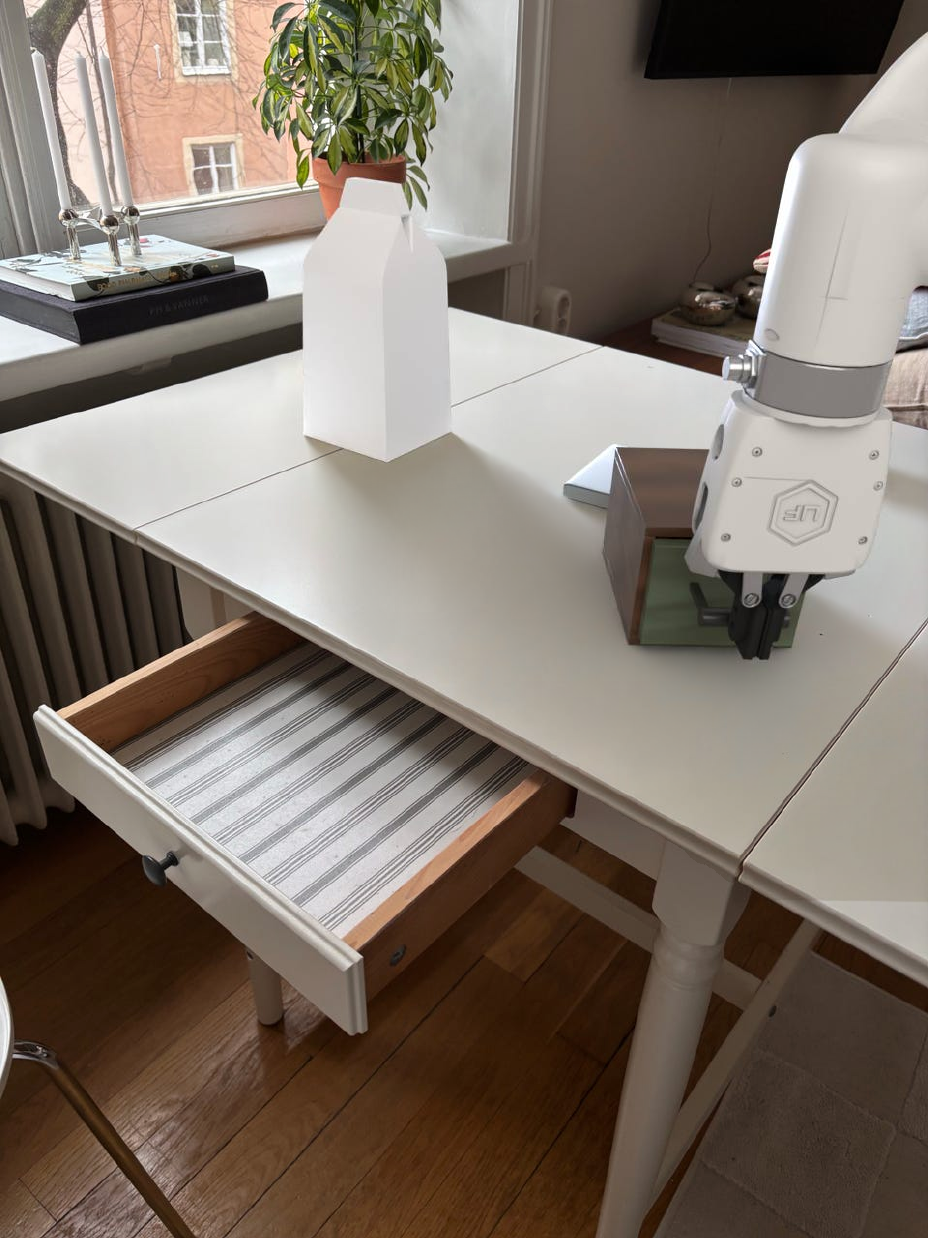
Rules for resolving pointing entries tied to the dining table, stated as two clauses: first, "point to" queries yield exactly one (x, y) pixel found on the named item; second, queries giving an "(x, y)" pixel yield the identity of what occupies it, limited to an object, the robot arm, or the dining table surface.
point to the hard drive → (593, 480)
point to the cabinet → (647, 519)
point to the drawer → (691, 602)
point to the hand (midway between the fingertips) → (749, 647)
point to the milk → (375, 328)
